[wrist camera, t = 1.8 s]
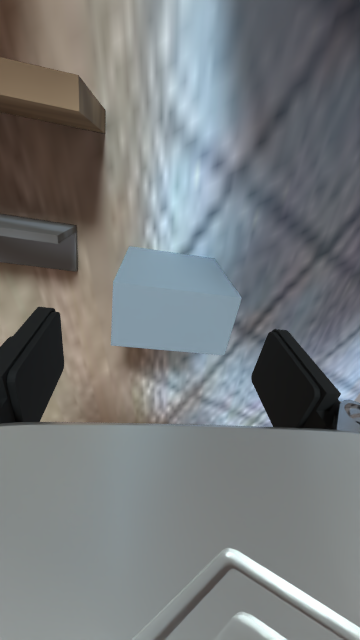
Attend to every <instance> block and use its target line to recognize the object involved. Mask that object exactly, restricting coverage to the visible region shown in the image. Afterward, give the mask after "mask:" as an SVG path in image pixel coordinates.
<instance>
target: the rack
mask: <svg viewBox="0 0 360 640" xmlns="http://www.w3.org/2000/svg"><path fill="white" fill-rule="evenodd" d="M0 112H2V113H7V114H12V115H17V116H22V117H27V118H31V119H36V120H41V121H46V122H51V123H56V124H61V125H66V126H71V127H75V128H80V129H85V130H90V131H95V132H100V133H105V109H104V108H103V106H102V105H101V104H100V103H99V101H98V100H97V99H96V97H95V96H94V95H93V94H92V92H91V91H90V90H89V88H88V87H87V86H86V84H85V83H84V82H83V81H82V79H81V78H80V77H79V75H75V74H71V73H67V72H63V71H58V70H54V69H50V68H45V67H41V66H37V65H32V64H28V63H24V62H20V61H15V60H11V59H7V58H2V57H0ZM0 262H5V263H13V264H20V265H28V266H36V267H44V268H52V269H60V270H68V271H76V272H77V270H78V260H77V231H76V225H71V224H65V223H58V222H51V221H45V220H38V219H32V218H25V217H18V216H12V215H5V214H0Z"/></svg>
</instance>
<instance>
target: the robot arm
mask: <svg viewBox="0 0 360 640" xmlns="http://www.w3.org/2000/svg"><path fill="white" fill-rule="evenodd" d="M63 368H64V356H63V344H62V332H61V320H60V313H59V312H55V309H54V308H46V307H38V308H37V309H36V310H35V311H34V312H33V313H32V315H31V316H30V317H29V318H28V319H27V320H26V322H25V323H24V324H23V325H22V326H21V327H20V329H19V330H18V331H17V332H16V333H15V334H14V336H12V337H9V338H8V339H7V340H6V341H5V342H4V343H3V345H2V346H1V347H0V640H360V403H358V402H356V401H352V400H344V401H339V400H338V398H339V396H340V395H341V393H340V392H339V391H338V390H337V389H336V387H335V386H334V385H333V384H332V383H331V381H330V380H329V379H328V378H327V377H326V376H325V374H324V373H323V372H322V371H321V370H320V368H319V367H318V366H317V365H316V364H315V363H314V361H313V360H312V359H311V358H310V357H309V356H308V354H307V353H306V352H305V351H304V350H303V348H302V347H301V346H300V345H299V344H298V343H297V341H296V340H295V339H294V338H293V337H292V335H291V334H290V333H289V332H288V331H287V330H277V329H274V330H273V331H272V332H270V333H269V334H268V336H267V338H266V341H265V343H264V346H263V348H262V351H261V353H260V356H259V358H258V361H257V363H256V366H255V368H254V371H253V373H252V383H253V385H254V387H255V389H256V391H257V393H258V395H259V398H260V400H261V402H262V404H263V406H264V408H265V410H266V412H267V414H268V417H269V419H270V421H271V423H272V425H273V427H255V426H223V425H186V424H145V423H97V422H40V420H41V418H42V415H43V413H44V411H45V409H46V407H47V404H48V402H49V400H50V398H51V396H52V393H53V391H54V389H55V387H56V385H57V382H58V380H59V378H60V376H61V374H62V371H63Z"/></svg>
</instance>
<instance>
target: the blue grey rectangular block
mask: <svg viewBox="0 0 360 640" xmlns="http://www.w3.org/2000/svg"><path fill="white" fill-rule="evenodd" d="M241 299H242V297H241V296H240V295H239V293H238V292H237V290H236V289H235V287H234V286H233V284H232V283H231V282H230V280H229V279H228V277H227V276H226V274H225V273H224V272H223V270H222V269H221V267H220V266H219V264H218V263H217V262H216V260H215V259H214V258H207V257H200V256H193V255H186V254H179V253H172V252H165V251H158V250H151V249H145V248H138V247H131V246H129V248H128V251H127V253H126V255H125V257H124V259H123V262H122V264H121V266H120V268H119V270H118V273H117V275H116V277H115V279H114V282H113V304H112V332H111V345H113V346H124V347H135V348H147V349H158V350H169V351H180V352H192V353H203V354H214V355H225V352H226V348H227V345H228V342H229V339H230V335H231V332H232V329H233V325H234V322H235V319H236V316H237V312H238V309H239V306H240V303H241Z"/></svg>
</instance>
